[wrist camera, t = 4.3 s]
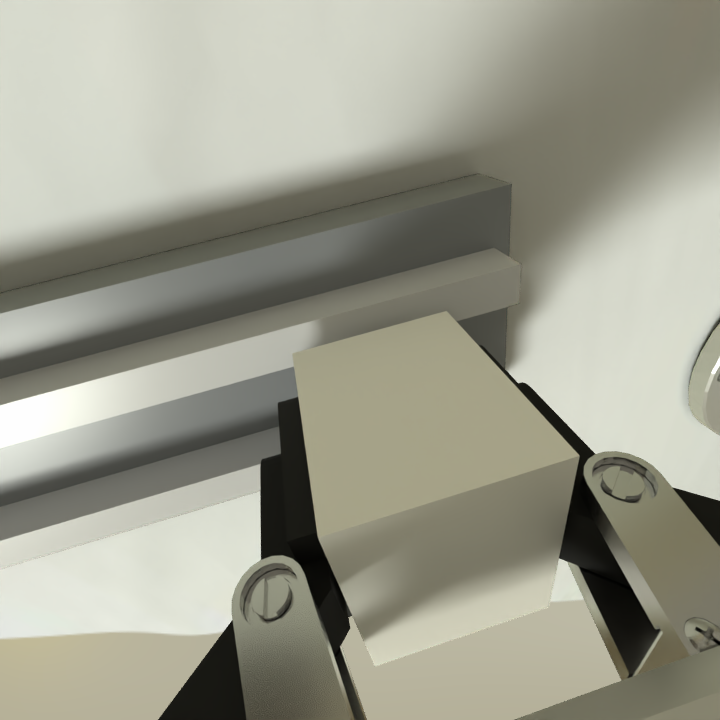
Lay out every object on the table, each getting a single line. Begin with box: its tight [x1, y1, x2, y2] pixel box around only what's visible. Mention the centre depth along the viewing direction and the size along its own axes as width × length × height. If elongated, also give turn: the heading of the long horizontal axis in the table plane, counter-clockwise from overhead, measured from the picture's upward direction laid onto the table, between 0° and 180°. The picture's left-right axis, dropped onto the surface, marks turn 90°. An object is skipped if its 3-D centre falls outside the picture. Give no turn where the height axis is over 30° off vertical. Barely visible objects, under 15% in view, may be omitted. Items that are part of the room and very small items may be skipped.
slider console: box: [0, 174, 521, 569], centre depth 13 cm, size 27×9×4 cm, turn 101°
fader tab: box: [292, 311, 580, 666], centre depth 10 cm, size 4×5×7 cm
